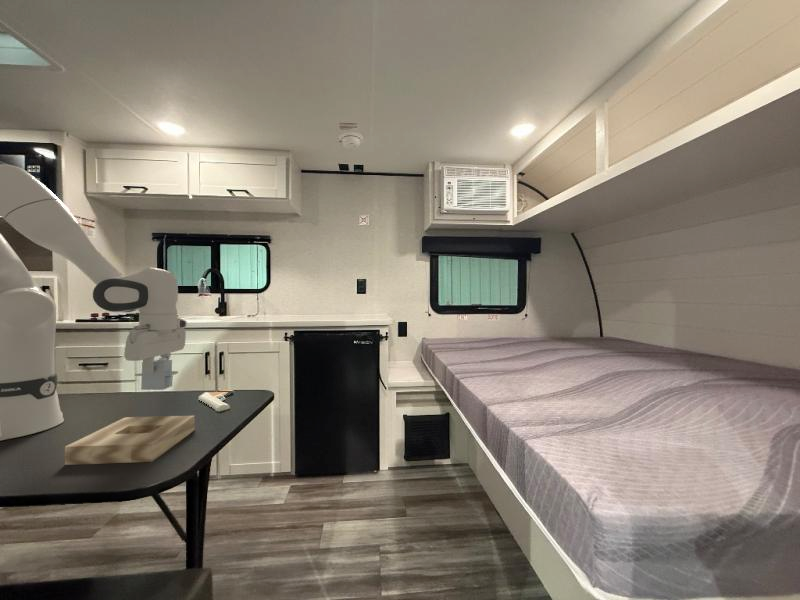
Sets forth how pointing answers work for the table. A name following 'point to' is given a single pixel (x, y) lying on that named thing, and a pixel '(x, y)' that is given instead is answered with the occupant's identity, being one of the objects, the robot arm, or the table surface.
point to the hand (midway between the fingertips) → (156, 370)
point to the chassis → (130, 440)
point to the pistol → (215, 400)
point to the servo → (157, 375)
